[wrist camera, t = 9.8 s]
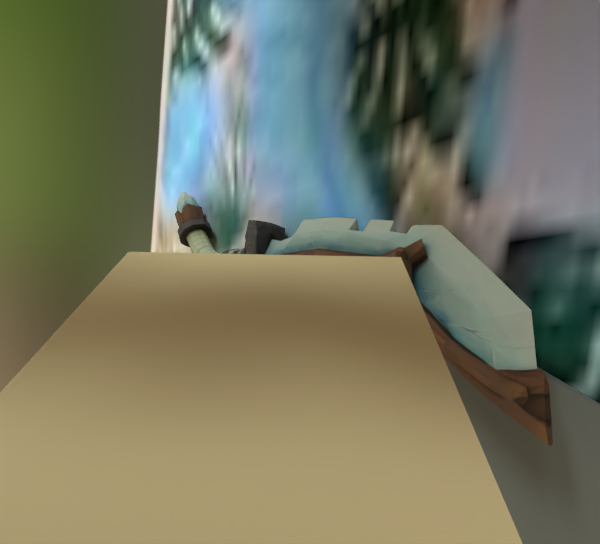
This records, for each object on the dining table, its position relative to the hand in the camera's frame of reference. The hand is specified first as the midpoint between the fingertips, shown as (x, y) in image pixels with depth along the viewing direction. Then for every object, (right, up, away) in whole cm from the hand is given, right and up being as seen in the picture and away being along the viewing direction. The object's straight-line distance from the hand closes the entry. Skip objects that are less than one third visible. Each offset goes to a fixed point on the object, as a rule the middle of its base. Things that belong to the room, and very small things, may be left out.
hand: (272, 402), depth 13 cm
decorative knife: (+2, +4, +16) cm, 17 cm away
